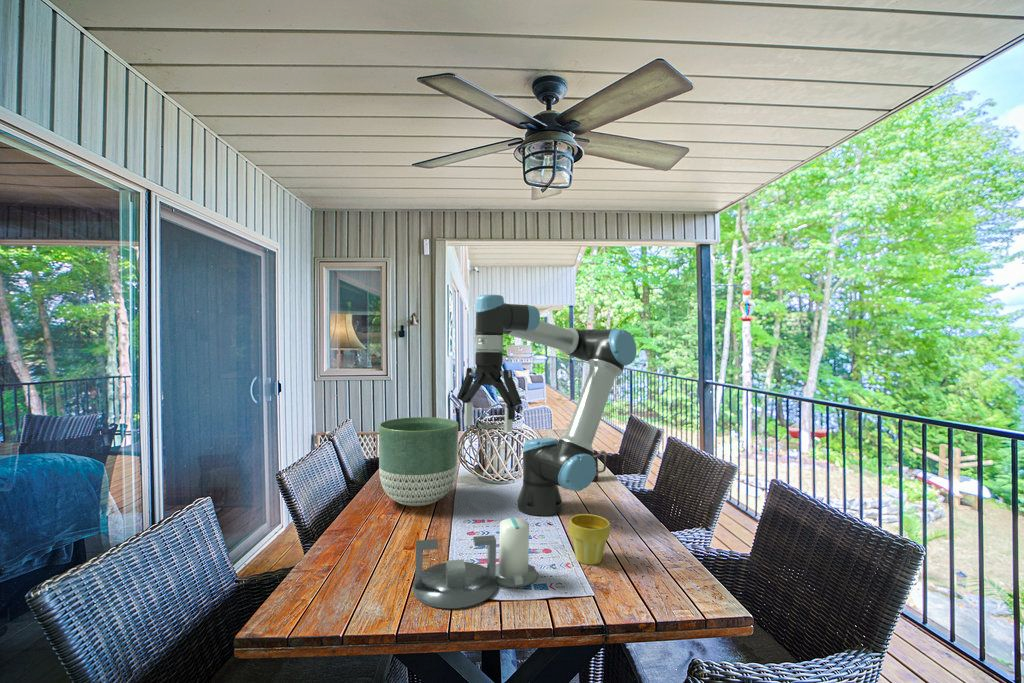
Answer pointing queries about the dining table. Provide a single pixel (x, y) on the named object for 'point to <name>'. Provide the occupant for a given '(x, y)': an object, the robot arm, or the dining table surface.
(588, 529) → the plant pot
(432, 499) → the planter
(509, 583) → the coaster
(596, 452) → the mug
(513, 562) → the white teal-striped cylinder
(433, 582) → the grey hook stand
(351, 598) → the dining table surface
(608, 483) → the dining table surface
